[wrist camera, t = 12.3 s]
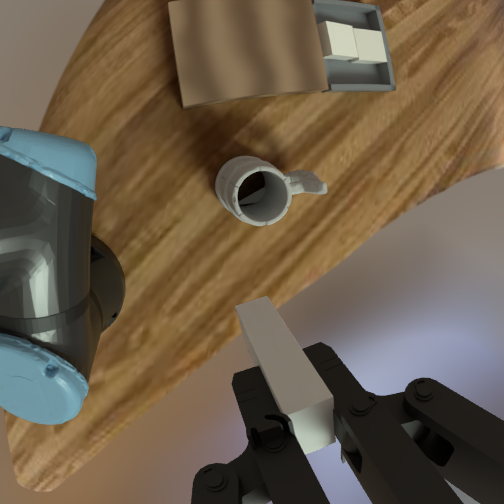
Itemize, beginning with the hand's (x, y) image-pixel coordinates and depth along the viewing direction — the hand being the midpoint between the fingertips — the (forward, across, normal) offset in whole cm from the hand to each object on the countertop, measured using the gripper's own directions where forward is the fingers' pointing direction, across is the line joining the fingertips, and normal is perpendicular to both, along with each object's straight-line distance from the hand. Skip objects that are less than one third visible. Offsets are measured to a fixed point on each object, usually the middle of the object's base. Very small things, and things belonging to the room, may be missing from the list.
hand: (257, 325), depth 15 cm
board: (+29, +10, +19) cm, 36 cm away
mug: (+29, +8, +1) cm, 30 cm away
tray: (+29, +26, +18) cm, 43 cm away
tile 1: (+26, +28, +18) cm, 42 cm away
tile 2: (+28, +23, +18) cm, 40 cm away
